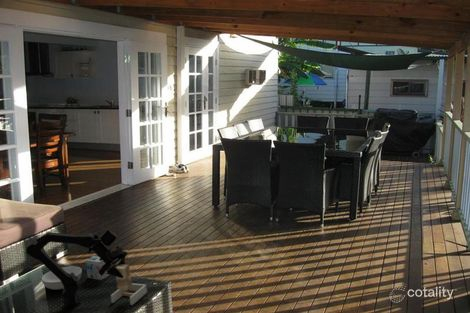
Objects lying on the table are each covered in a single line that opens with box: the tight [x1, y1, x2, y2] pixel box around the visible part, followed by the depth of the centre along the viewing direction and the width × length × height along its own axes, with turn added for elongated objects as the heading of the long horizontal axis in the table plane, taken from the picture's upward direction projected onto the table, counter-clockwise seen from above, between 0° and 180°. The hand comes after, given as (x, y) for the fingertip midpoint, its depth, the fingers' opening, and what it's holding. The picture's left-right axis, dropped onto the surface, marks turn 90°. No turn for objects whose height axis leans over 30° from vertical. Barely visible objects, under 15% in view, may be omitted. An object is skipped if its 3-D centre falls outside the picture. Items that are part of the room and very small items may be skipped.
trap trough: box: [110, 282, 149, 306], centre depth 235 cm, size 14×12×4 cm
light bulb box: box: [85, 255, 110, 281], centre depth 264 cm, size 11×7×11 cm, turn 62°
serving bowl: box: [41, 265, 83, 290], centre depth 257 cm, size 21×21×7 cm
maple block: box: [115, 263, 133, 290], centre depth 231 cm, size 5×5×11 cm
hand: (125, 275), depth 230 cm, fingers closed on maple block, 5 cm apart
